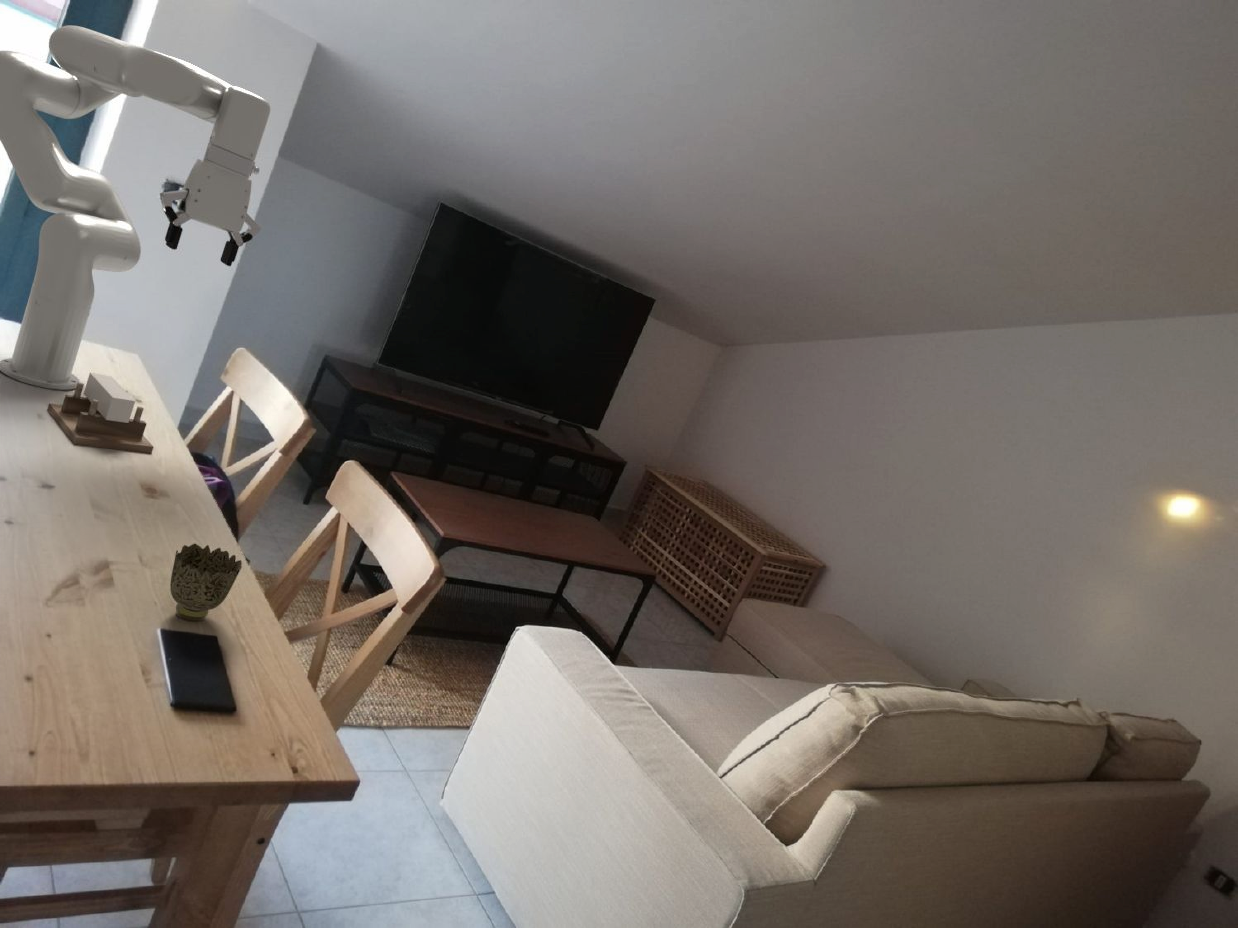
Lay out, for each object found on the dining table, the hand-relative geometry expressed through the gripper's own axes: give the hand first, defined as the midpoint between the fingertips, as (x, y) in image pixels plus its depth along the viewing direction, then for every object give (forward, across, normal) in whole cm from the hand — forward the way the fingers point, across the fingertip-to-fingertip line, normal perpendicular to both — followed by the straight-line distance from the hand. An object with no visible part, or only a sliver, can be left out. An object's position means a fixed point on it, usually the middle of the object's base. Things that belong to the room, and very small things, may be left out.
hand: (198, 256), depth 152 cm
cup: (+34, +17, +66) cm, 76 cm away
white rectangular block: (+29, +9, +5) cm, 31 cm away
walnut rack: (+33, +9, +5) cm, 35 cm away
